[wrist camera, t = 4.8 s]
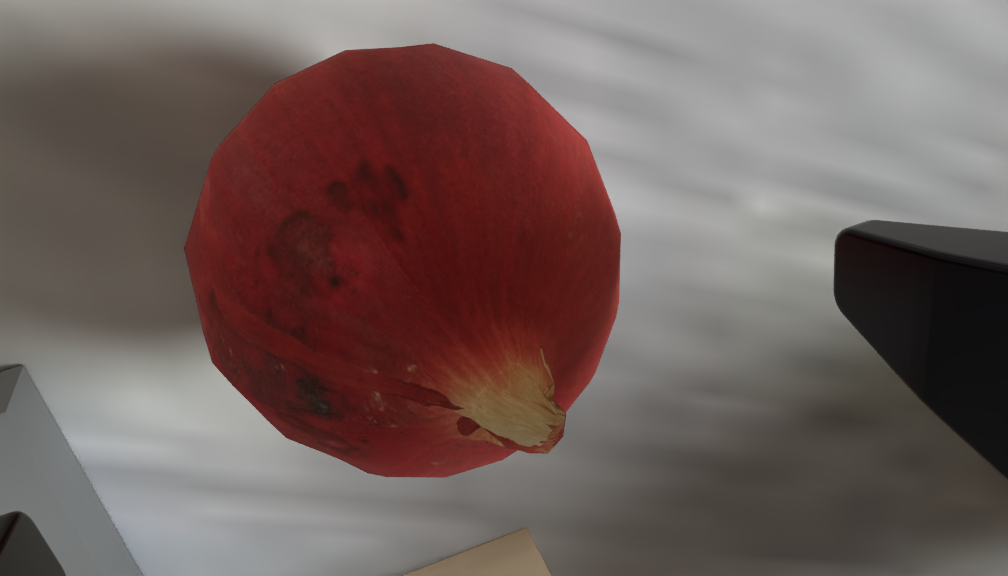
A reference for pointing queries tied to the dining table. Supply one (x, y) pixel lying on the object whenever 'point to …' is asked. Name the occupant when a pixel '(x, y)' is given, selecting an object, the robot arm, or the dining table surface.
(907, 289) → the robot arm
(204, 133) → the dining table surface
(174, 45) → the dining table surface
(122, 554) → the gray board
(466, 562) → the beech block
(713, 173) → the dining table surface
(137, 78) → the dining table surface
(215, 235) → the onion
